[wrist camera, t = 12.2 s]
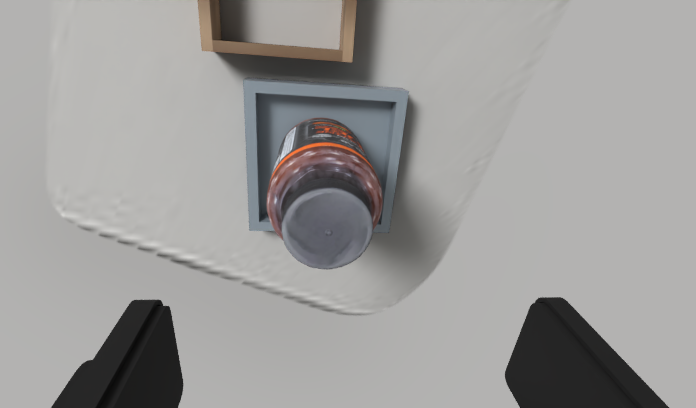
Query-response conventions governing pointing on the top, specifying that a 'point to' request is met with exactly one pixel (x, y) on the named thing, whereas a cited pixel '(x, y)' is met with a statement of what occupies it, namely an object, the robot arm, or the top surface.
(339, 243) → the supplement bottle
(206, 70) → the top surface
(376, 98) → the tray
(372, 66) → the top surface
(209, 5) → the holder
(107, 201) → the top surface
